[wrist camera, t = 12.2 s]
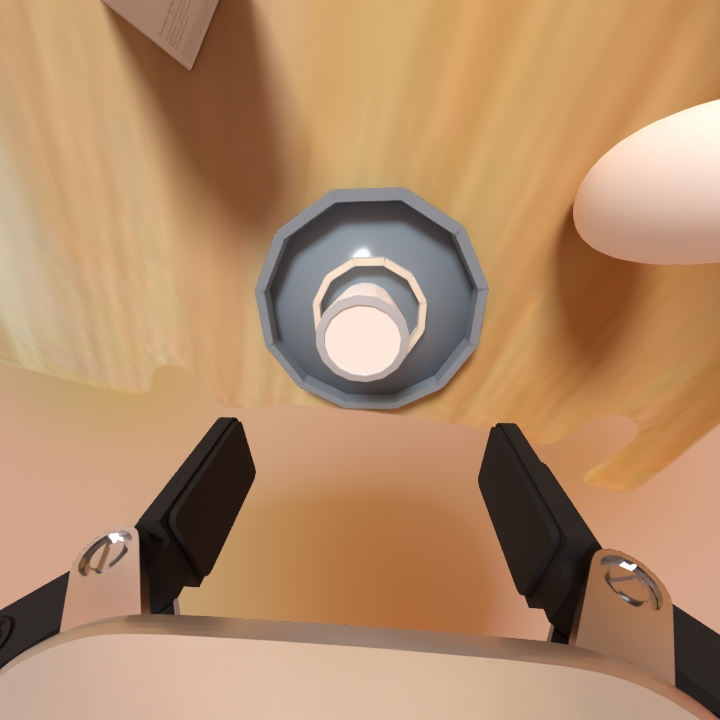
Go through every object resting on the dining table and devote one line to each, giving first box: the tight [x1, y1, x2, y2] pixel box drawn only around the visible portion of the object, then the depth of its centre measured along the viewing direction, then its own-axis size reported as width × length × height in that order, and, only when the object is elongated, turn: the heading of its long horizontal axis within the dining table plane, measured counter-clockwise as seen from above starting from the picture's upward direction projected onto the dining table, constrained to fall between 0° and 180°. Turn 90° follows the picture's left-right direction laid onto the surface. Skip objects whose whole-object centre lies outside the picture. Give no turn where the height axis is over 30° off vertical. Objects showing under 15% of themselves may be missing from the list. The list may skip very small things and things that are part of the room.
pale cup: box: [316, 283, 410, 382], centre depth 23 cm, size 7×7×7 cm
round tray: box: [255, 187, 489, 409], centre depth 26 cm, size 20×20×2 cm
